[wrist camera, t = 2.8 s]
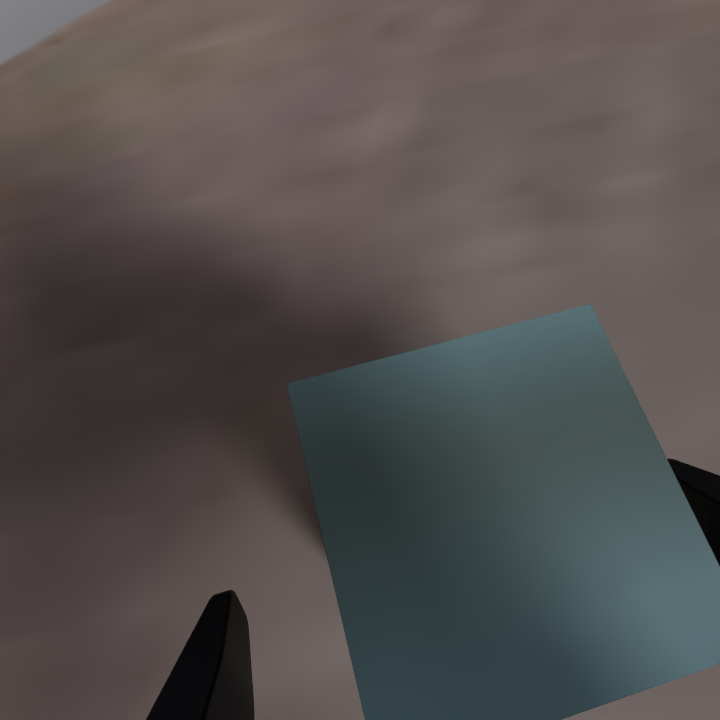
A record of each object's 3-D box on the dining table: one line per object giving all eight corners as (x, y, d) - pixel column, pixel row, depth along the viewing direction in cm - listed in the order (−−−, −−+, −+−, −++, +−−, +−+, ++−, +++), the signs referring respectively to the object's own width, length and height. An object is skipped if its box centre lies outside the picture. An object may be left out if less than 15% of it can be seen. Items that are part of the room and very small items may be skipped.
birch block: (480, 558, 17) (760, 649, 5) (363, 594, 17) (380, 783, 5) (440, 441, 18) (590, 304, 7) (333, 472, 18) (286, 383, 6)
